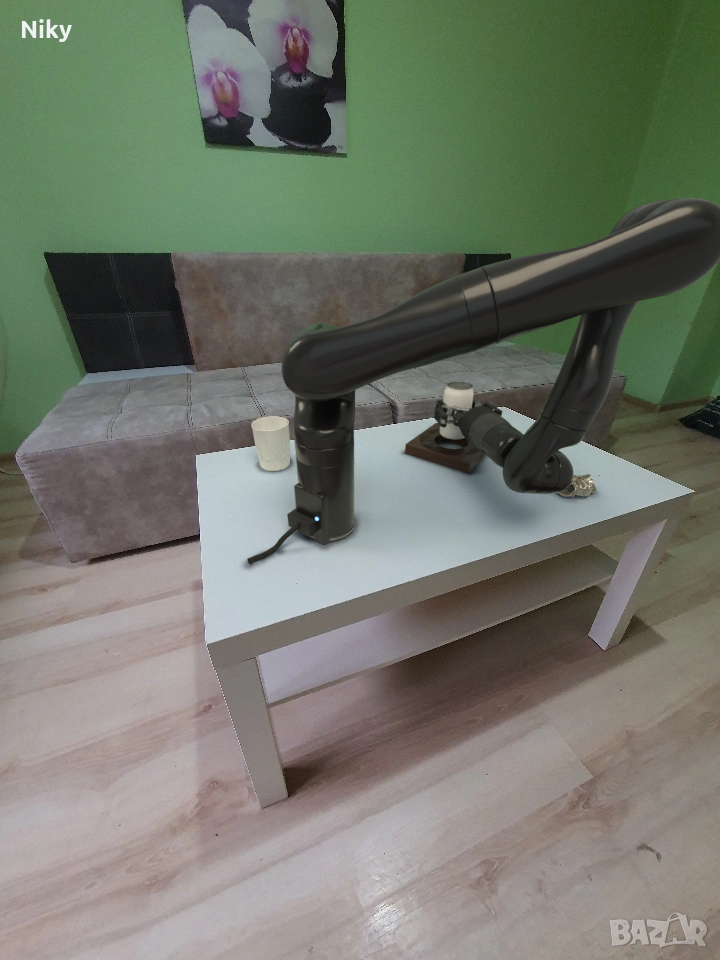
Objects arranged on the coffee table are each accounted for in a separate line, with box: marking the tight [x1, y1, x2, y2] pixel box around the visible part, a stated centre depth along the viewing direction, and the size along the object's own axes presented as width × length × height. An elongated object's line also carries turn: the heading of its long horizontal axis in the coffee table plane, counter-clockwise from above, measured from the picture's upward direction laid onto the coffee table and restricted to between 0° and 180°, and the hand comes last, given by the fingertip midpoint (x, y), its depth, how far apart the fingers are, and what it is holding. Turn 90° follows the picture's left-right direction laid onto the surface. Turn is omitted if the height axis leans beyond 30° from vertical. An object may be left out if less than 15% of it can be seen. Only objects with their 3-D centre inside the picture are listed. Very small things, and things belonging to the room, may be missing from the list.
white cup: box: [250, 415, 291, 472], centre depth 85 cm, size 8×8×10 cm
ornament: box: [558, 473, 598, 498], centre depth 77 cm, size 8×7×4 cm
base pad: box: [404, 422, 487, 474], centre depth 93 cm, size 16×16×2 cm
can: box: [440, 380, 475, 440], centre depth 88 cm, size 6×6×12 cm
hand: (452, 403), depth 90 cm, fingers closed on can, 6 cm apart
